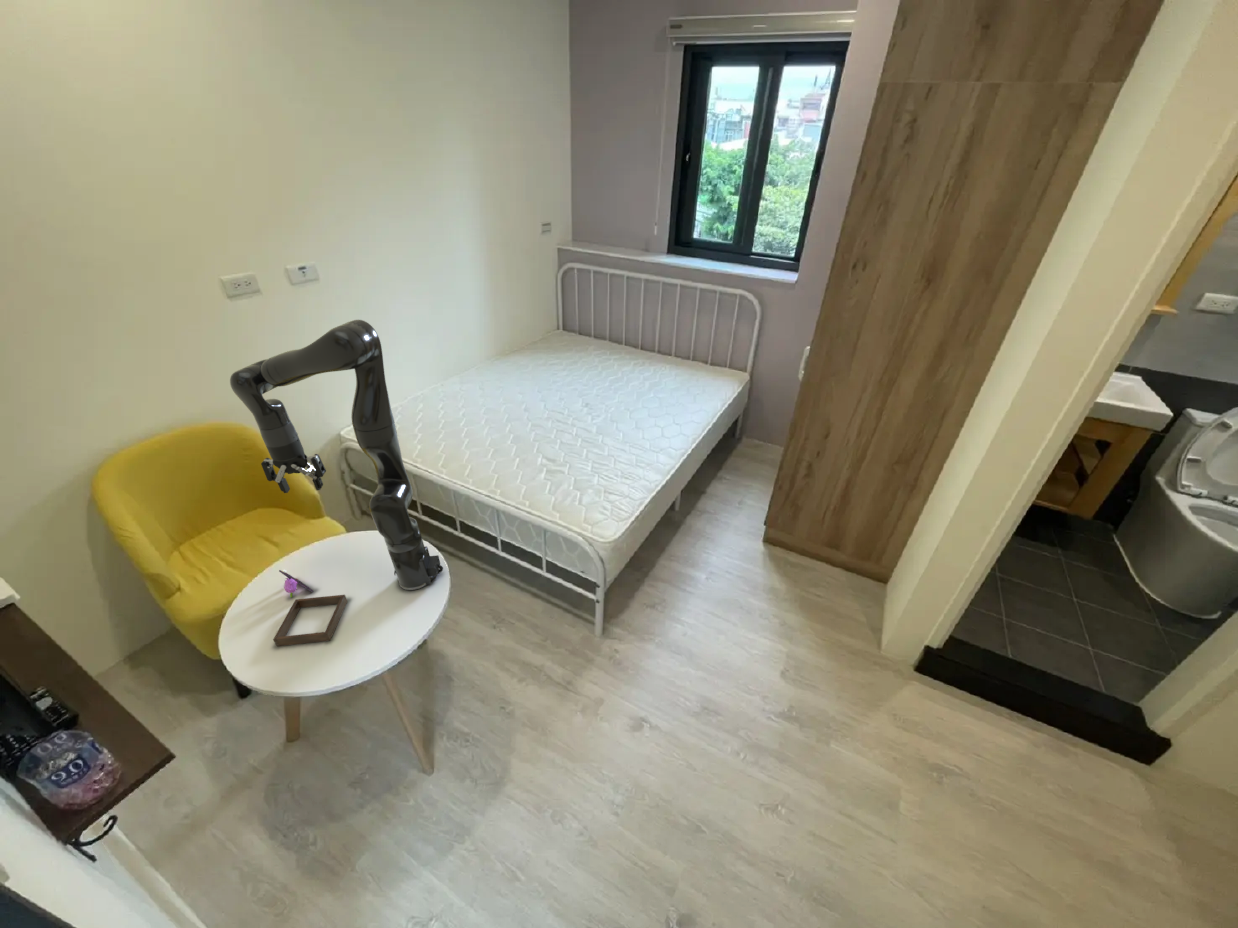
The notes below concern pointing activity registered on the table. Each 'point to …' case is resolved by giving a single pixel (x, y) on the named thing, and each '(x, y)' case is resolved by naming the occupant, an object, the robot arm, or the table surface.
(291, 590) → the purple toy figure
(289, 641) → the brown square frame
